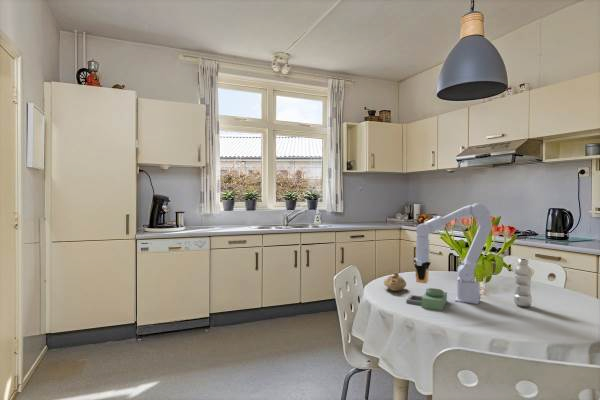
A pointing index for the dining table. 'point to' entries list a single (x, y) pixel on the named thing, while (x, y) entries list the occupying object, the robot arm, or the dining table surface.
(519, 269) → the plastic bottle
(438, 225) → the robot arm
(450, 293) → the dining table surface
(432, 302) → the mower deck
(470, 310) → the dining table surface
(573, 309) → the dining table surface
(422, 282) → the chute block
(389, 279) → the oil lamp
